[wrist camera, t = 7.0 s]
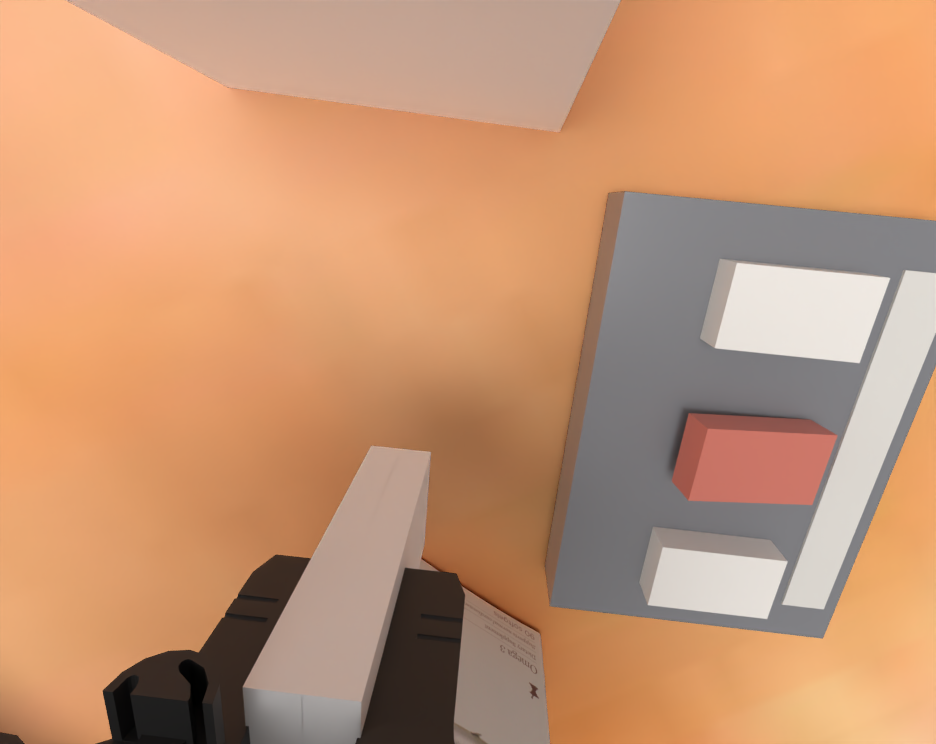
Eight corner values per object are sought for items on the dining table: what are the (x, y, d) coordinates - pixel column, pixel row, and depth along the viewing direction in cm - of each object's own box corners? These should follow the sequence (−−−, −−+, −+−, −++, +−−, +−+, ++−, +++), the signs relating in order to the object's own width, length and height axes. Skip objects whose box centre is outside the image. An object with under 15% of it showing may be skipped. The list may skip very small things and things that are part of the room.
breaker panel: (790, 594, 22) (842, 664, 19) (544, 566, 23) (552, 629, 19) (928, 223, 17) (1034, 228, 14) (608, 192, 18) (635, 190, 14)
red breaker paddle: (787, 485, 18) (812, 504, 17) (671, 480, 17) (688, 500, 16) (810, 419, 17) (837, 435, 16) (688, 413, 17) (707, 429, 16)
